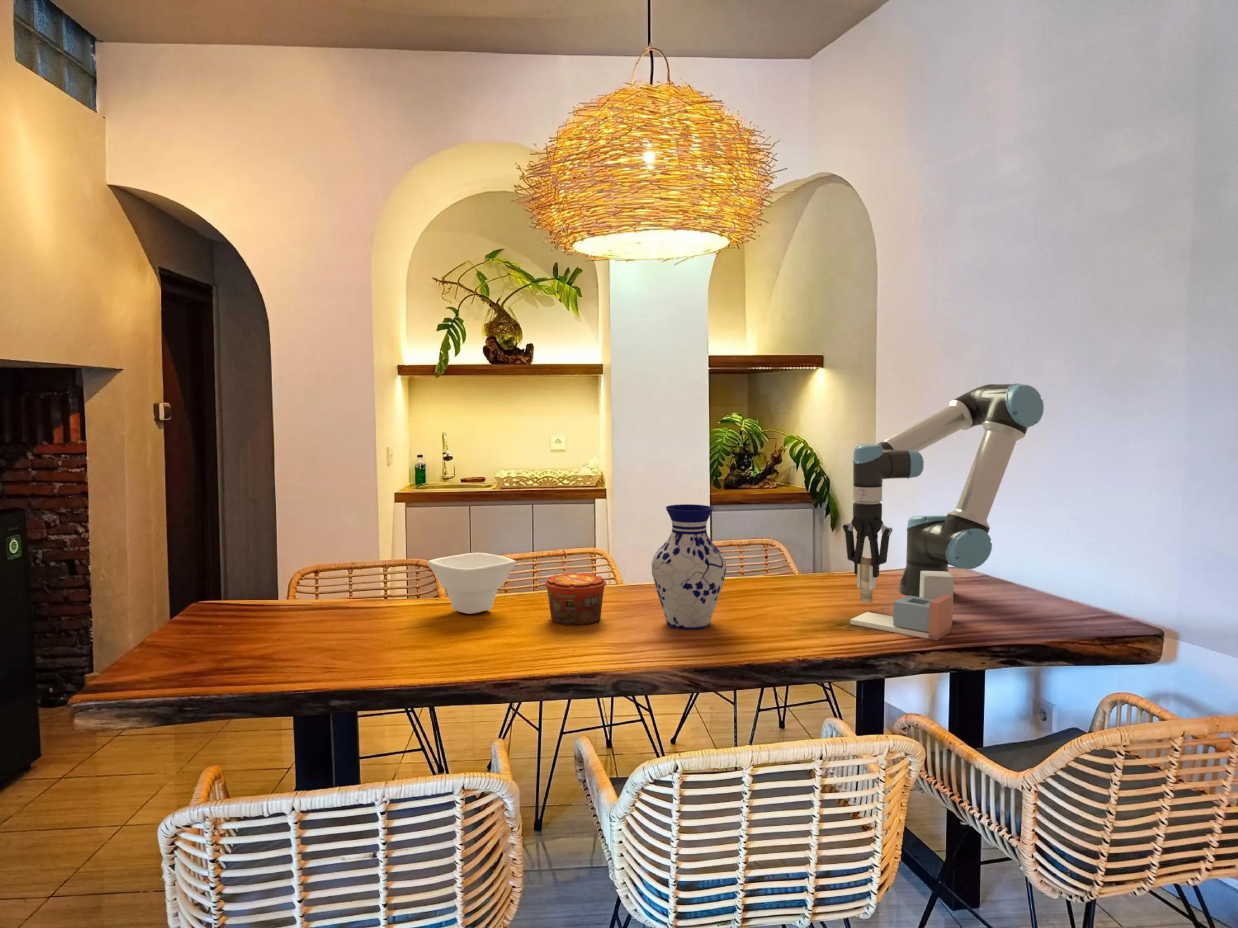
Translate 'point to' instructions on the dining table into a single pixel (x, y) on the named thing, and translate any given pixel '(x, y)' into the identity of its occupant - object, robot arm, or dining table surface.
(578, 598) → the food container
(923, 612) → the socket block
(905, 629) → the peg insertion fixture
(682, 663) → the dining table surface
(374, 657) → the dining table surface
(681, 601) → the vase
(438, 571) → the bowl
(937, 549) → the robot arm
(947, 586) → the supplement box
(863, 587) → the dowel
